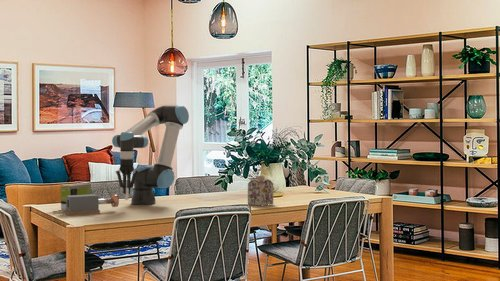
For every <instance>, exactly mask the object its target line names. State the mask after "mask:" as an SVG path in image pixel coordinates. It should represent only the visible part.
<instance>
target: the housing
mask: <svg viewBox="0 0 500 281" xmlns="http://www.w3.org/2000/svg"><path fill="white" fill-rule="evenodd" d="M99 196H100V195H97V194H94V193H91V194H88V195H70V196H66V210H63V214H65V215H67V216H69V217H71V216H72V217H73V216H86V215H87V216H88V215H99V214H100V212H101V210H100V208H99V206H100V204H99V199H100V197H99Z"/></svg>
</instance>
